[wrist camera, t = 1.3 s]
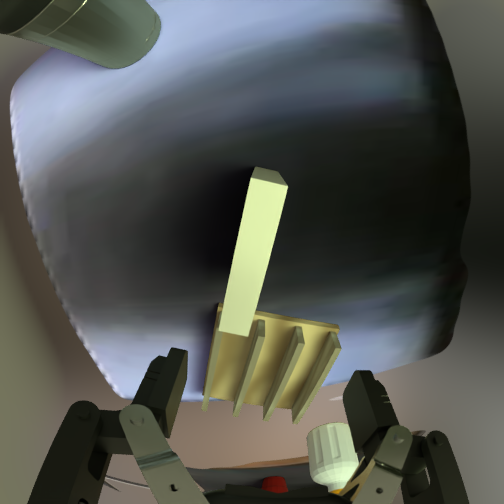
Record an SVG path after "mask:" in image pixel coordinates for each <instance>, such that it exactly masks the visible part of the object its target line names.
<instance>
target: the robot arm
mask: <svg viewBox="0 0 504 504" xmlns="http://www.w3.org/2000/svg"><path fill="white" fill-rule="evenodd" d="M160 30H161V21H160V18H159V16H158V14H157V13H156V12H155V11H154V9H153V8H152V7H151V6H150V5H149V4H148V3H147V2H146V0H0V33H1V34H6V35H10V36H14V37H18V38H22V39H26V40H30V41H34V42H37V43H40V44H44V45H47V46H50V47H53V48H56V49H59V50H62V51H65V52H68V53H71V54H73V55H76V56H79V57H81V58H84V59H87V60H89V61H91V62H94V63H96V64H99V65H101V66H104V67H106V68H111V69H119V68H123V67H127V66H129V65H131V64H133V63H135V62H137V61H138V60H140V59H141V58H142V57H143V56H145V55H146V54H147V53H148V52H149V51H150V50H151V48H152V47H153V46H154V44H155V43H156V41H157V39H158V37H159V34H160ZM187 365H188V351H187V350H182V349H178V348H173V347H172V348H171V349H170V351H169V354H168V356H167V357H164V356H158V357H156V358H155V359H154V360H153V361H151V363H150V365H149V367H148V369H147V372H146V374H145V376H144V378H143V380H142V382H141V384H140V386H139V389H138V391H137V393H136V395H135V397H134V399H133V402H132V403H131V404H130V405H128V406H126V407H125V408H123V409H122V410H119V411H108V410H99V409H98V407H97V406H96V405H95V404H93V403H92V402H89V401H78V402H75V403H74V404H72V405H71V407H70V408H69V410H68V412H67V414H66V416H65V418H64V420H63V422H62V424H61V426H60V428H59V430H58V433H57V434H56V436H55V438H54V441H53V443H52V445H51V447H50V449H49V452H48V454H47V456H46V458H45V461H44V463H43V465H42V468H41V470H40V472H39V475H38V477H37V480H36V482H35V485H34V487H33V490H32V493H31V495H30V498H29V501H28V503H27V504H98V500H99V497H100V493H101V490H102V486H103V483H104V480H105V476H106V473H107V470H108V466H109V463H110V460H111V457H112V454H126V455H127V454H128V455H134V457H135V459H136V461H137V464H138V466H139V468H140V470H141V472H142V474H143V476H144V478H145V480H146V482H147V483H148V486H149V488H150V489H151V491H152V493H153V495H154V497H155V499H156V500H157V502H158V504H391V503H392V501H393V499H394V497H395V495H396V492H397V490H398V488H399V486H400V485H401V490H402V495H403V500H404V504H469V500H468V497H467V493H466V490H465V487H464V483H463V481H462V477H461V474H460V471H459V468H458V465H457V462H456V460H455V457H454V454H453V451H452V448H451V446H450V443H449V441H448V438H447V437H446V435H445V434H444V433H442V432H440V431H432V432H430V433H429V434H428V435H427V436H426V437H423V436H416V435H412V434H411V432H410V431H409V430H408V429H407V428H406V427H404V426H401V425H399V422H398V420H397V417H396V414H395V412H394V409H393V407H392V404H391V403H390V399H389V397H388V395H387V392H386V390H385V387H384V386H383V385H382V384H381V383H380V382H379V381H378V380H375V379H374V376H373V374H372V372H371V371H370V370H356V371H355V372H354V373H353V375H352V377H351V379H350V381H349V383H348V385H347V387H346V388H345V390H344V393H343V403H344V407H345V412H346V415H347V420H348V424H349V428H350V432H351V436H352V441H353V445H354V449H355V453H362V452H364V457H363V458H362V460H361V461H360V463H359V465H358V467H357V468H356V470H355V472H354V473H353V475H352V476H351V478H350V480H349V481H348V483H347V484H346V485H345V487H344V488H343V489H342V490H341V491H340V492H339V493H338V494H335V493H332V492H328V487H327V486H326V487H308V488H301V489H296V490H292V491H288V492H283V493H275V492H271V491H267V490H263V489H259V488H256V487H252V486H240V485H231V484H226V486H225V489H217V490H212V491H209V492H206V493H203V494H202V492H201V491H200V489H199V488H198V486H197V485H196V483H195V482H194V480H193V479H192V477H191V476H190V474H189V473H188V471H187V470H186V468H185V467H184V465H183V463H182V462H181V460H180V458H179V457H178V455H177V454H176V453H174V452H173V451H172V449H171V448H170V446H169V444H168V442H167V441H166V439H165V438H170V435H171V431H172V427H173V424H174V421H175V417H176V414H177V411H178V407H179V404H180V401H181V398H182V394H183V391H184V388H185V384H186V380H187ZM426 467H427V470H428V474H429V477H430V485H429V482H428V478H427V475H426V471H425V468H426Z"/></svg>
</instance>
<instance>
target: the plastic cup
mask: <svg viewBox="0 0 504 504" xmlns="http://www.w3.org/2000/svg"><path fill="white" fill-rule="evenodd" d="M261 489H263V490H267V491H271V492H275V493H283V492H288V489H287V486H286V482H285V479H284V478H283V477H277V476H275V477H267V478H265V479H264V481H263V484H262V488H261Z"/></svg>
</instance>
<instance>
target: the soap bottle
mask: <svg viewBox="0 0 504 504" xmlns="http://www.w3.org/2000/svg"><path fill="white" fill-rule="evenodd" d="M307 445H308V455H309V464H310V475H311V477H312V479H313V480H314V481H315V482H317V483H319V484H321V485H326V486H328V490H329V492H332V493H335V494H338V493H339V492H340V491H341V490H342V489H343V488H344V487H345V485H346V482H347V481H348V480H349V479H350V478H351V476H352V475H353V473H354V472H355V470H356V468H357V467H358V465H359V462H358V458H357V453H355V449H354V445H353V441H352V436H351V432H350V428H349V426H348V425H347V424H345V423H342V422H339V423H337V422H334V423H328V424H324V425H321V426H318V427H316V428H314V429H313V430H312V431H310V432H309V434H308V436H307Z"/></svg>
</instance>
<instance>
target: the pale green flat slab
mask: <svg viewBox="0 0 504 504" xmlns="http://www.w3.org/2000/svg"><path fill="white" fill-rule="evenodd" d="M287 188H288V186H287V184H286V183H285V181H284V180H283V179H282V177H281V176H280V174H279V173H278V172H277V171H272V170H268V169H264V168H259V167H255V169H254V171H253V174H252V176H251V180H250V184H249V188H248V193H247V197H246V202H245V206H244V211H243V216H242V220H241V225H240V229H239V234H238V239H237V243H236V248H235V253H234V257H233V262H232V267H231V272H230V276H229V281H228V286H227V291H226V296H225V301H224V306H223V310H222V315H221V320H220V325H219V330H218V331H222V332H227V333H232V334H237V335H242V336H247V337H248V335H249V331H250V328H251V324H252V321H253V317H254V313H255V310H256V306H257V302H258V299H259V295H260V291H261V288H262V284H263V280H264V277H265V273H266V269H267V265H268V262H269V258H270V254H271V250H272V247H273V243H274V239H275V235H276V231H277V227H278V224H279V220H280V216H281V212H282V208H283V204H284V200H285V196H286V192H287Z"/></svg>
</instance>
